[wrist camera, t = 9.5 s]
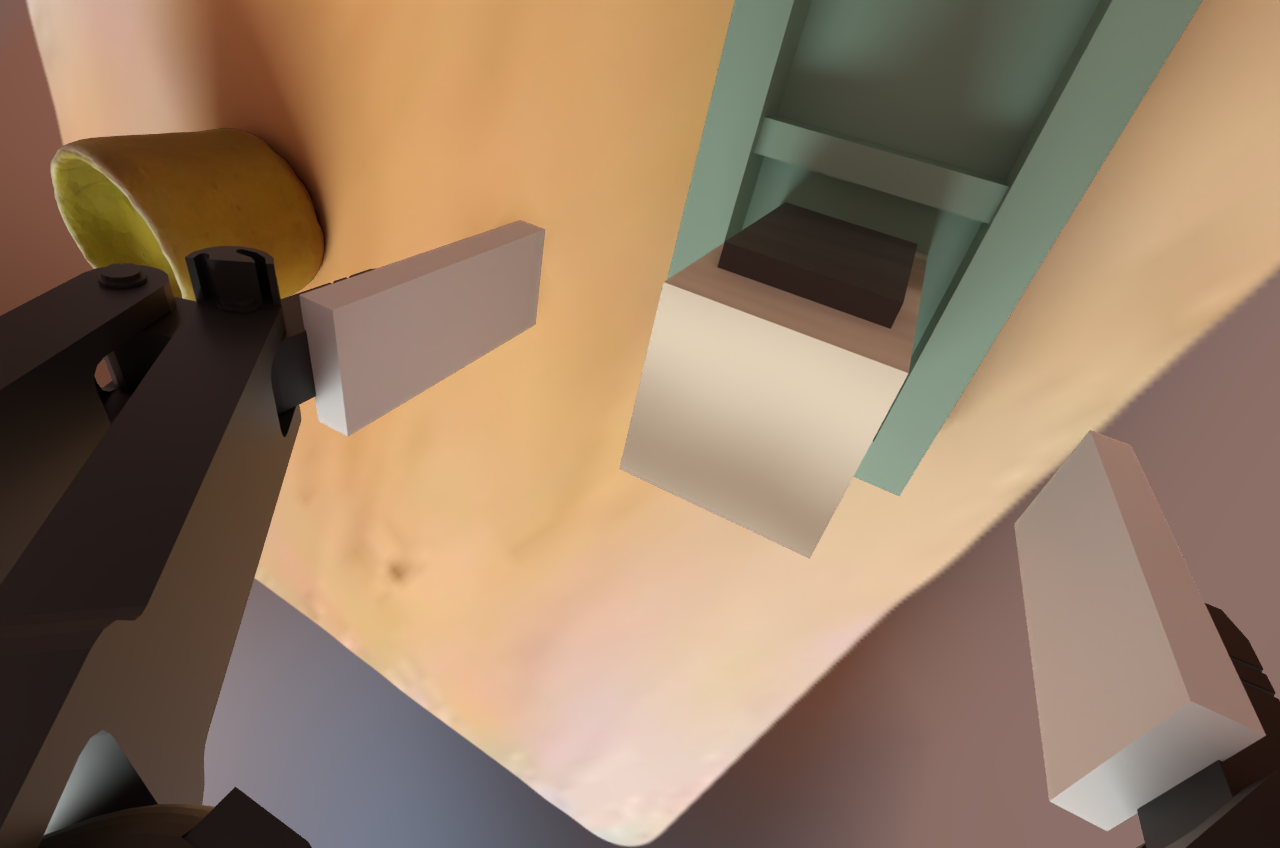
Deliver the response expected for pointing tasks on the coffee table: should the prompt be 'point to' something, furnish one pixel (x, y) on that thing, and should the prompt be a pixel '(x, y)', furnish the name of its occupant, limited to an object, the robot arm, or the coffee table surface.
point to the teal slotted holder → (925, 152)
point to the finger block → (776, 370)
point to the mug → (186, 203)
